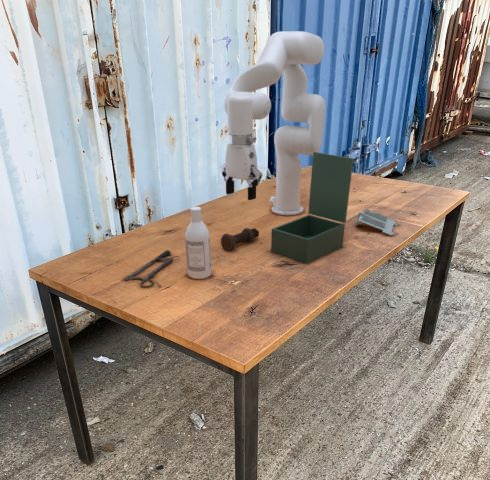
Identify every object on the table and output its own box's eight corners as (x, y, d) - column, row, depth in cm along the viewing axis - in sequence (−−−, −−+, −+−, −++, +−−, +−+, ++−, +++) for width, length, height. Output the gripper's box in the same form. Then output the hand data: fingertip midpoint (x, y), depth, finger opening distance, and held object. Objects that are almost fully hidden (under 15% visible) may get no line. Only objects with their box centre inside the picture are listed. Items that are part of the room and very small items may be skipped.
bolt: (257, 243, 174) (228, 254, 164) (248, 233, 175) (218, 244, 166) (264, 231, 170) (234, 241, 160) (255, 221, 171) (224, 231, 161)
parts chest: (306, 264, 154) (308, 239, 150) (271, 251, 163) (271, 228, 159) (342, 247, 166) (344, 224, 162) (307, 236, 174) (308, 214, 171)
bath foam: (199, 267, 152) (195, 202, 142) (216, 273, 148) (213, 207, 138) (183, 275, 148) (177, 208, 138) (199, 281, 144) (195, 213, 134)
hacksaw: (166, 253, 163) (166, 248, 162) (194, 258, 159) (193, 253, 158) (119, 282, 144) (118, 277, 144) (148, 288, 140) (148, 284, 140)
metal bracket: (357, 216, 174) (362, 204, 186) (350, 231, 177) (356, 218, 190) (396, 231, 172) (399, 218, 184) (389, 246, 175) (393, 232, 188)
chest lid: (352, 158, 152) (361, 156, 155) (313, 152, 161) (323, 150, 164) (344, 223, 161) (353, 220, 165) (308, 213, 170) (317, 210, 173)
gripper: (270, 141, 149) (268, 199, 158) (229, 135, 160) (230, 189, 168) (252, 145, 144) (252, 204, 153) (211, 138, 155) (213, 193, 163)
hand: (240, 196), depth 160 cm, fingers open, 9 cm apart
